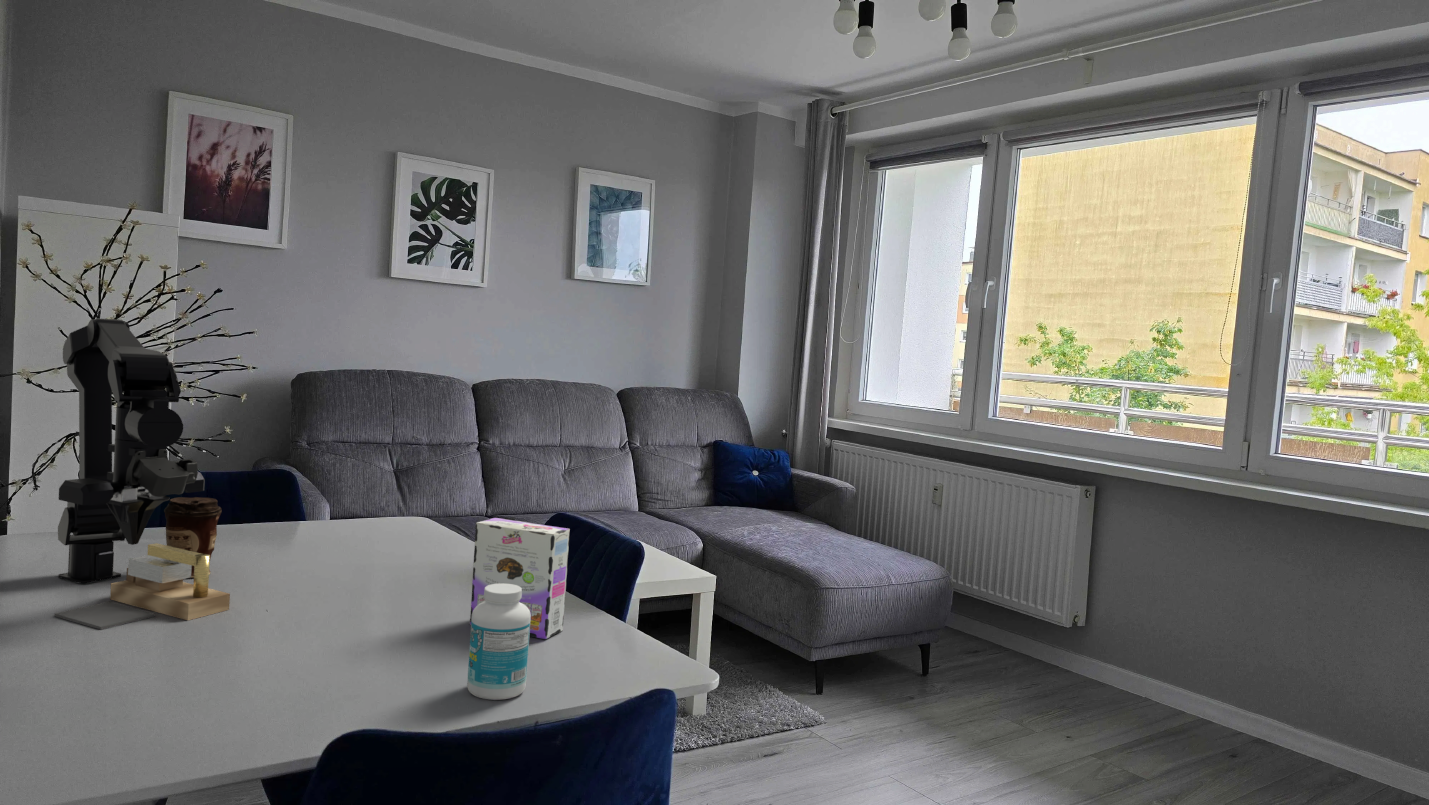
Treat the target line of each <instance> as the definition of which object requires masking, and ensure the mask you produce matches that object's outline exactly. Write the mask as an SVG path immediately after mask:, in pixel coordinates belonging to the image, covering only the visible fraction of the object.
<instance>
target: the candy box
mask: <svg viewBox="0 0 1429 805" xmlns="http://www.w3.org/2000/svg"><path fill="white" fill-rule="evenodd" d="M570 530H571V529H570V528H568V527H567V528H566V527H559V526H552V525H545V524H539V523H538V524H537V523H533V522H527V521H526V522H525V521H520V520H512V519H507V518H506V519H505V518H500V517H499V518H498V517H493V518H487V519H485V520H481V521H477V522H475V531H474V532H475V534H474V552H473V564H472V565H473V566H472V567H473V568H472V579H471V580H472V582H471V599H470V615H469V616H470V618H469V625H470V626H471V618H472V612H473V610H474V608H475V607H476V606H477V605H479V604H480V603H483V602H485V599H484V589H485V587H486V586H488V585H491V584H500V583H504V584H514V585H517V586H520V587H521V588H522V597H521V599H520V601H519V602H520V603H522V604H524V605H525V606H526V607H527V608H528V609H529V611H530V614H531V620H530V635H529V637H533V638H536V639H543V640H547V639H549V638H551V637H553V636H554V635H557V634H558V633H561V632H562V631H563V629H564V620H565V619H564V617H565V616H564V615H565V604H566V603H565V601H566V590H567V575H568V560H569V559H568V558H569V546H570Z"/></svg>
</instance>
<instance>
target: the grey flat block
mask: <svg viewBox="0 0 1429 805" xmlns="http://www.w3.org/2000/svg"><path fill="white" fill-rule="evenodd" d="M127 568H128V575H131V576H135V577H139V578H142V579H146V580H150V581H154V582H158V583H167V582H172V581H176V580H181V579H183V580H186V579H189V578H191V568H192V565H188V564H183V563H179V562H175V561H171V560H167V559H162V558H158V557H154V556H150V555H142V556H136V557H132V558H128V567H127Z"/></svg>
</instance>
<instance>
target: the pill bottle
mask: <svg viewBox="0 0 1429 805" xmlns="http://www.w3.org/2000/svg"><path fill="white" fill-rule="evenodd" d="M521 597H522V588H521V587H520V586H517V585H514V584H504V583H500V584H491V585H488V586H486V587H485V589H484V599H485V602H483V603H480V604H479V605H477V606H476V607H475V608H474V610H473V612H472V618H471V625H470V634H469V635H470V636H469V638H470V640H469V651H468V652H469V653H468V668H467V682H466V686H467V690H468V692H469V693H470V694H472V695H473V696H475V697H477V698H480V699H483V700H489V701H501V700H508V699H513V698H515V697H518V696H520V695H521V694H522V693H523V692H524V691H525V689H526V685H527V677H528V676H527V675H528V660H529V648H530V646H529V645H530V636H529V635H530V620H531V614H530V611H529V609H528V608H527V607H526V606H525V605H524V604H522V603H520V602H519V601H520V599H521Z"/></svg>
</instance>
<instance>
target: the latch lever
mask: <svg viewBox="0 0 1429 805" xmlns="http://www.w3.org/2000/svg"><path fill="white" fill-rule="evenodd" d="M166 545H167V544H161V543H157V542H156V543H150V544H147V555H150V556H154V557H158V558H162V559H167V560H171V561H175V562H179V563H183V564H188V565H192V566H194V577H193V583H192V584H193V597H206V596H208V588H209V583H210V575H209V569H210V563H211V559H210V555H209V554H201V553H197V552H192V551H188V550H184V549H179V548H175V547H171V546H166ZM147 555H146V556H147Z"/></svg>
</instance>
